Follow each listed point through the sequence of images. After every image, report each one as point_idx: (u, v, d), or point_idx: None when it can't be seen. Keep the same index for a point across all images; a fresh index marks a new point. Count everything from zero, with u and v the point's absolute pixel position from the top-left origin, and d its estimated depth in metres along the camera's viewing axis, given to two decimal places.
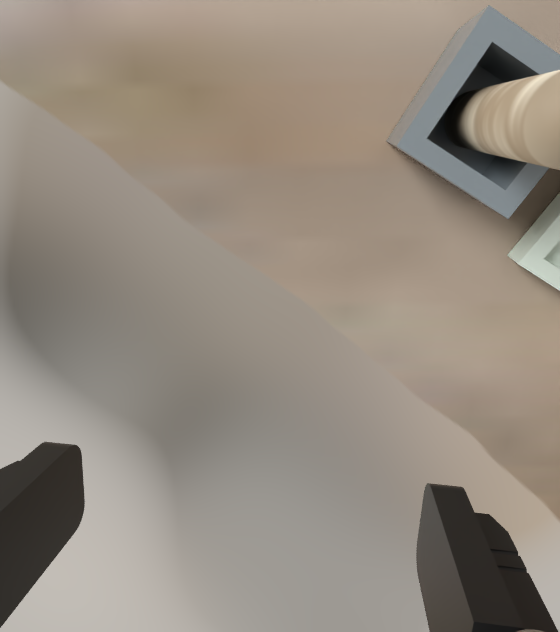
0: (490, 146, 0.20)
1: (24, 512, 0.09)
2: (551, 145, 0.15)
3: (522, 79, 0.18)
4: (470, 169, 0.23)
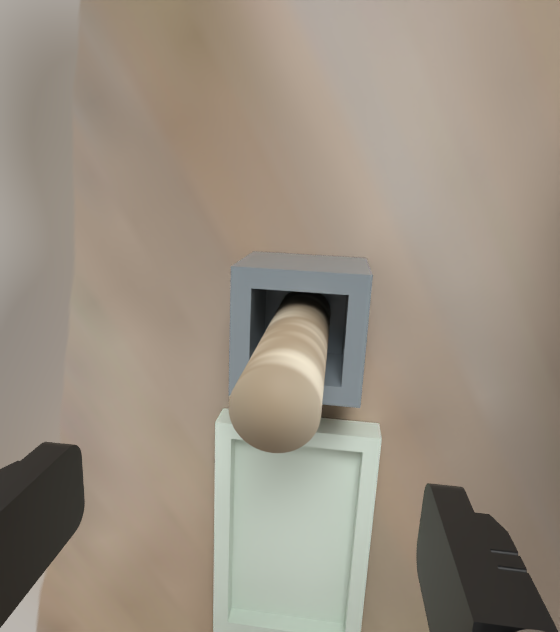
0: None
1: (24, 511, 0.09)
2: (245, 404, 0.15)
3: (310, 342, 0.19)
4: (248, 340, 0.23)
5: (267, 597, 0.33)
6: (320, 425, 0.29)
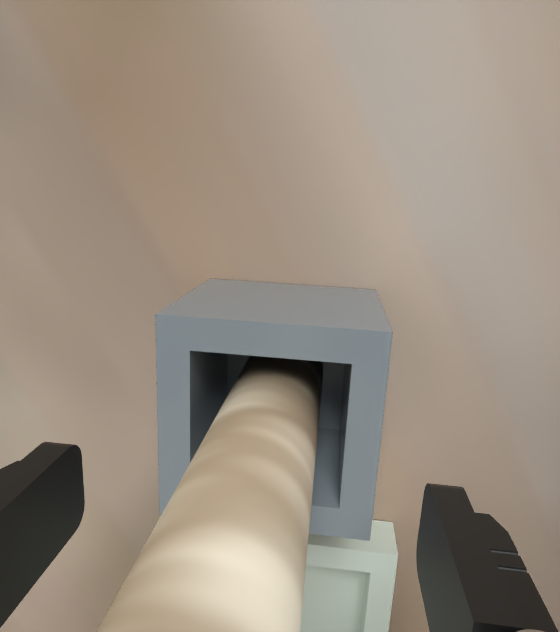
0: None
1: (24, 511, 0.09)
2: None
3: (280, 481, 0.10)
4: (187, 432, 0.14)
5: None
6: None
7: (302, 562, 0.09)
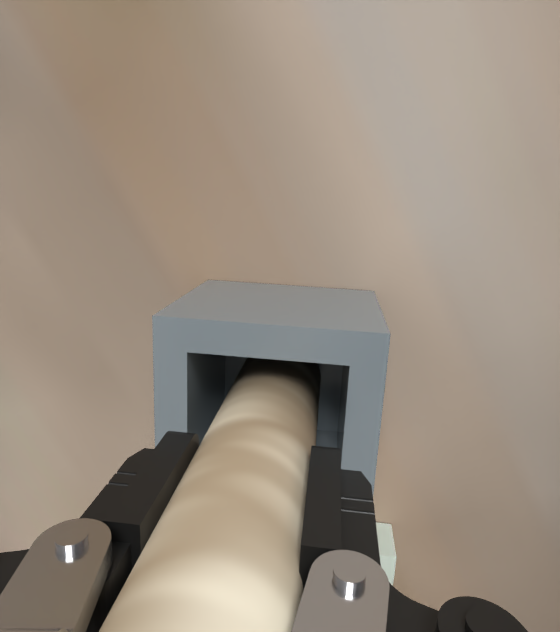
0: None
1: (170, 493, 0.10)
2: None
3: (276, 501, 0.09)
4: None
5: None
6: None
7: (300, 591, 0.08)
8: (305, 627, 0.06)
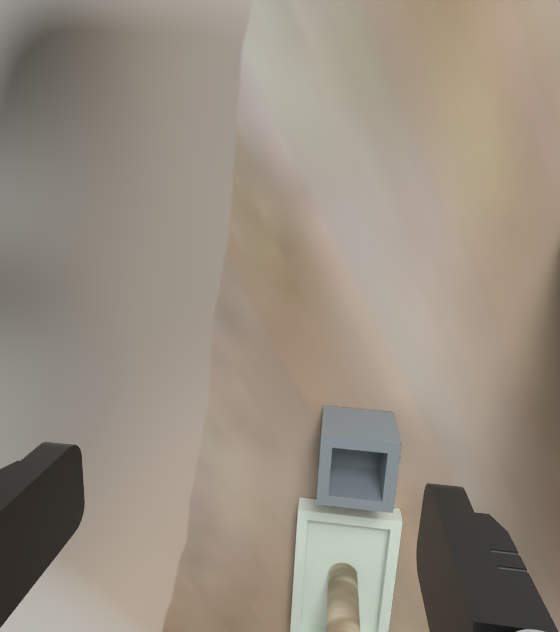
0: None
1: (24, 511, 0.09)
2: None
3: None
4: (329, 475, 0.41)
5: (325, 618, 0.51)
6: (363, 511, 0.47)
7: None
8: None
